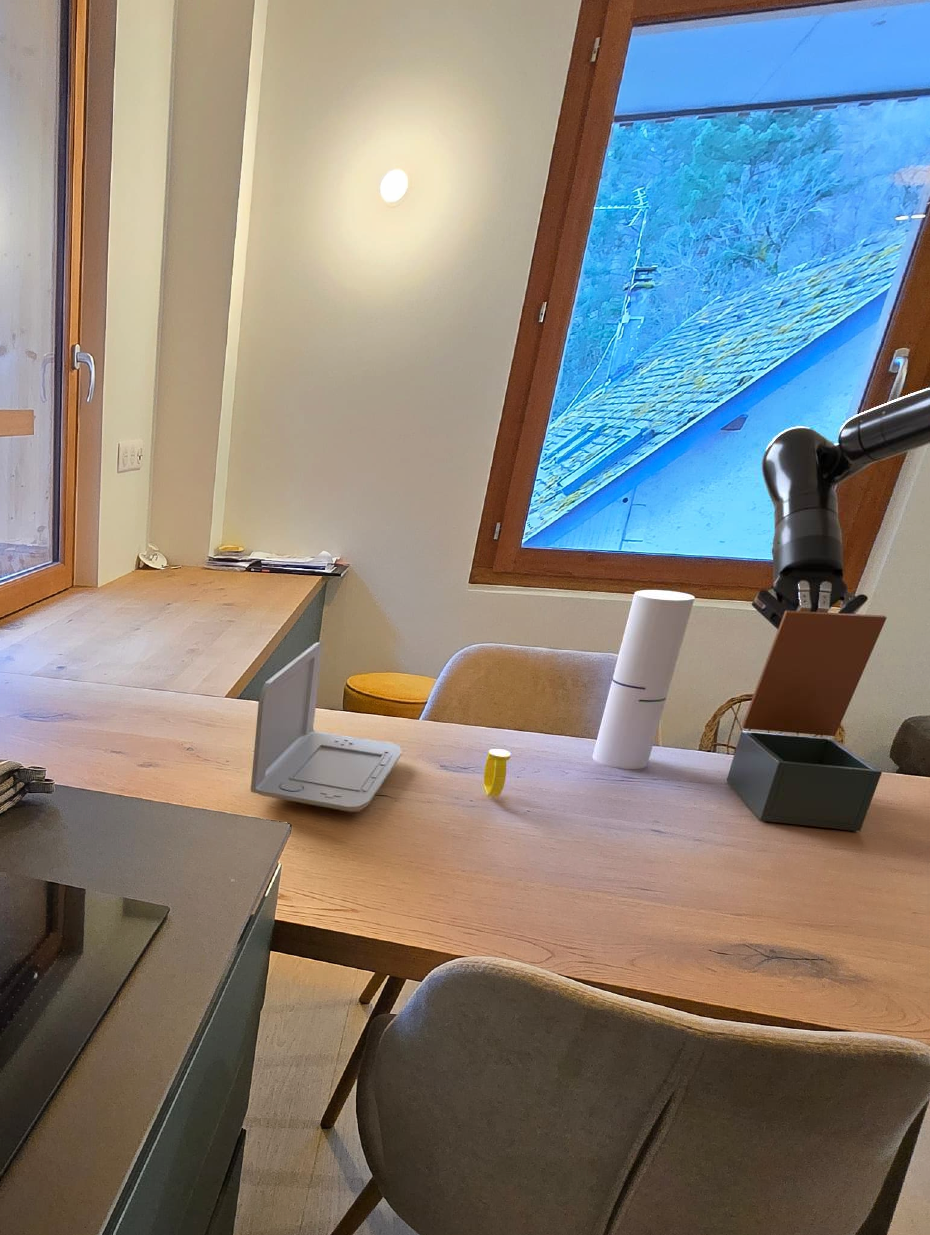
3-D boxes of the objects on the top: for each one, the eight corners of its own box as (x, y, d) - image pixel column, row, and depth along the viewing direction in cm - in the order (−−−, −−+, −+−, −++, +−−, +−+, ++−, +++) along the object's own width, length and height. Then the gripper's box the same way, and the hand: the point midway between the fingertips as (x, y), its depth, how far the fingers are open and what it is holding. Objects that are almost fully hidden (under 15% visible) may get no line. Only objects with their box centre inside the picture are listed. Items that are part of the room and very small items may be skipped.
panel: (887, 617, 120) (884, 615, 121) (786, 612, 124) (785, 610, 124) (835, 736, 129) (833, 733, 130) (743, 728, 133) (741, 726, 133)
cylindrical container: (595, 752, 148) (637, 588, 137) (648, 761, 144) (696, 593, 133) (588, 766, 143) (631, 596, 132) (643, 776, 139) (692, 602, 128)
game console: (362, 817, 123) (378, 702, 116) (250, 796, 130) (260, 686, 123) (405, 751, 144) (422, 650, 138) (308, 736, 151) (319, 639, 145)
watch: (475, 784, 134) (484, 743, 132) (497, 785, 134) (505, 745, 131) (483, 800, 129) (492, 758, 127) (506, 801, 129) (515, 760, 126)
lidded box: (860, 831, 119) (882, 771, 116) (759, 820, 123) (778, 762, 120) (814, 792, 133) (833, 738, 130) (725, 783, 136) (741, 730, 133)
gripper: (762, 531, 133) (763, 634, 127) (879, 534, 128) (886, 641, 122) (740, 566, 139) (740, 666, 133) (850, 570, 135) (855, 674, 129)
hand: (810, 654), depth 128 cm, fingers closed
